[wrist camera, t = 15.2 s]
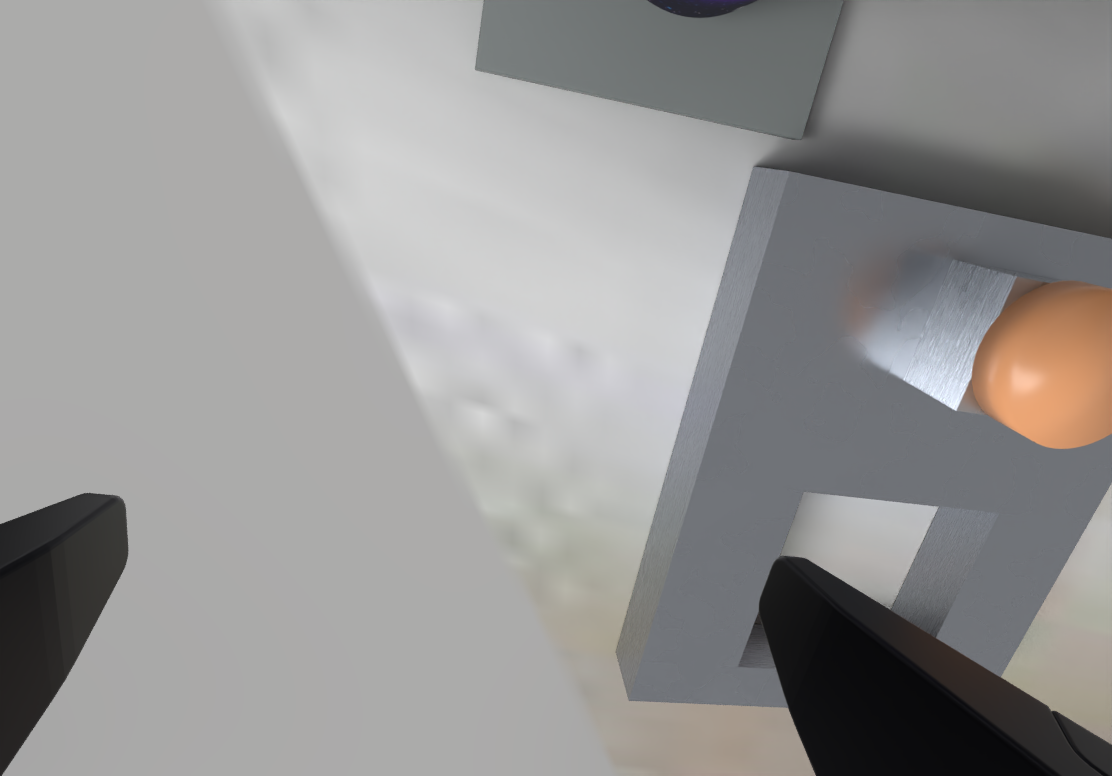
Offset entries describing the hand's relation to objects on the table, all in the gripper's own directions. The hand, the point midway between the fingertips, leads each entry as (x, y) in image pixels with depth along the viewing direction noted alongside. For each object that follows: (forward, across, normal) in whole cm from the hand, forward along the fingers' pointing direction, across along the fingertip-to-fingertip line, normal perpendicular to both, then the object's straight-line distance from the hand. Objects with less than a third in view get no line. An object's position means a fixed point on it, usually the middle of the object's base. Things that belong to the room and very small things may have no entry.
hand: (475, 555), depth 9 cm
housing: (+13, -16, +4) cm, 21 cm away
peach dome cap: (+9, -16, -2) cm, 19 cm away
